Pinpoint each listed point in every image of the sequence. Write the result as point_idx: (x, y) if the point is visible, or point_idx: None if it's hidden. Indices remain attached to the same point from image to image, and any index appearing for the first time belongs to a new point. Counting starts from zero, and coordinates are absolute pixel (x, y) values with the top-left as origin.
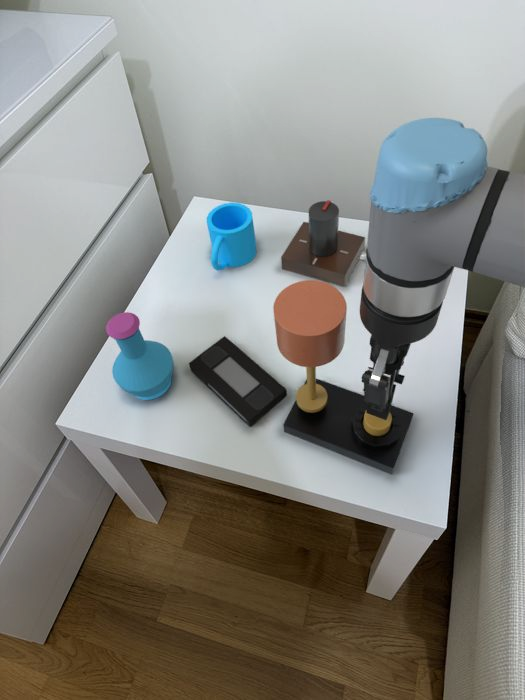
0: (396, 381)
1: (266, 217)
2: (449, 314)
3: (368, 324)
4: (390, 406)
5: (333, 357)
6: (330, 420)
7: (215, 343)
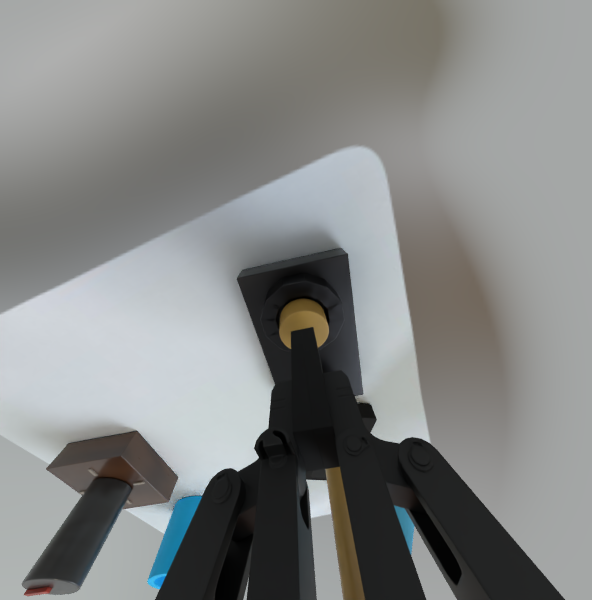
0: (292, 453)
1: (138, 512)
2: (30, 318)
3: None
4: (300, 350)
5: None
6: (326, 360)
7: (310, 479)
